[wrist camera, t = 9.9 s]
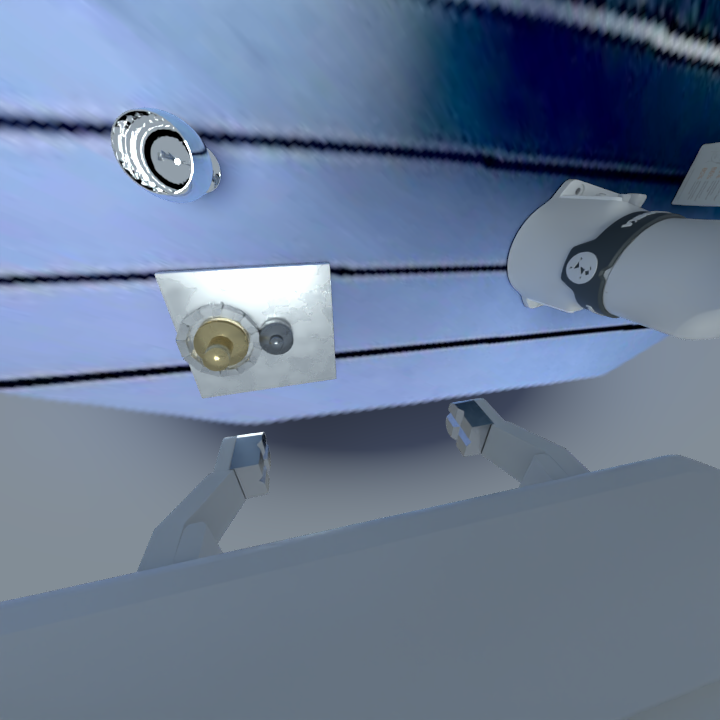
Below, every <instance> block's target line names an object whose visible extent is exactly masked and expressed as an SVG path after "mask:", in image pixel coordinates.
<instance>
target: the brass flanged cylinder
mask: <svg viewBox="0 0 720 720" xmlns="http://www.w3.org/2000/svg"><path fill="white" fill-rule="evenodd" d="M193 344H194V348H195V351H196V353H197V354H198V355H199V357H200V358H202V361H203V364H204V366H205V367H206V368H208V369H209V370H212V371H222V370H224V369H226V368H227V366H232V365H235V364H237V363H239V362H240V361H242V360H243V359H244V358H245V356H246V354H247V352H248V347H249V337H248V334H247V332H246V330H245V329H244V328H243V327H242V326H241V325H240V324H239V323H237V322H235V321H233V320H231V319H227V318H213V319H210V320H207V321H206V322H204V323H203V324H202V325H201V326H200V327H199V329H198V330H197V332H196V334H195V336H194V340H193Z"/></svg>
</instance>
